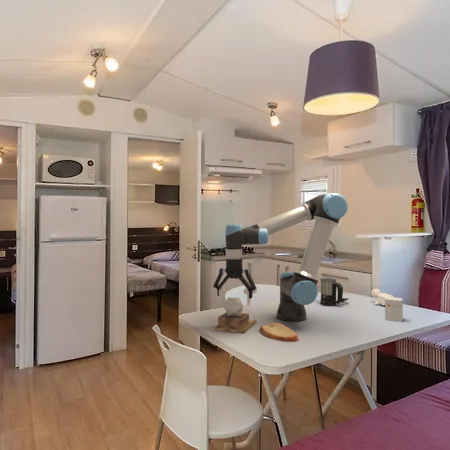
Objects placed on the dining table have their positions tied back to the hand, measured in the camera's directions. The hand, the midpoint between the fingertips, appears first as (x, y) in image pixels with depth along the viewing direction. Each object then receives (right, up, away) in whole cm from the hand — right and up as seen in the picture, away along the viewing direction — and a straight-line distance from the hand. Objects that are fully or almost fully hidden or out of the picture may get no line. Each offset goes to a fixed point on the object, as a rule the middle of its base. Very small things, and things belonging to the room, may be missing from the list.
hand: (234, 304), depth 171 cm
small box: (+80, -11, +15) cm, 82 cm away
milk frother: (+60, -10, +48) cm, 77 cm away
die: (0, -5, 0) cm, 5 cm away
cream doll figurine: (+87, -10, +45) cm, 98 cm away
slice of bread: (+19, -12, -8) cm, 24 cm away
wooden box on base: (+1, -11, +4) cm, 11 cm away
